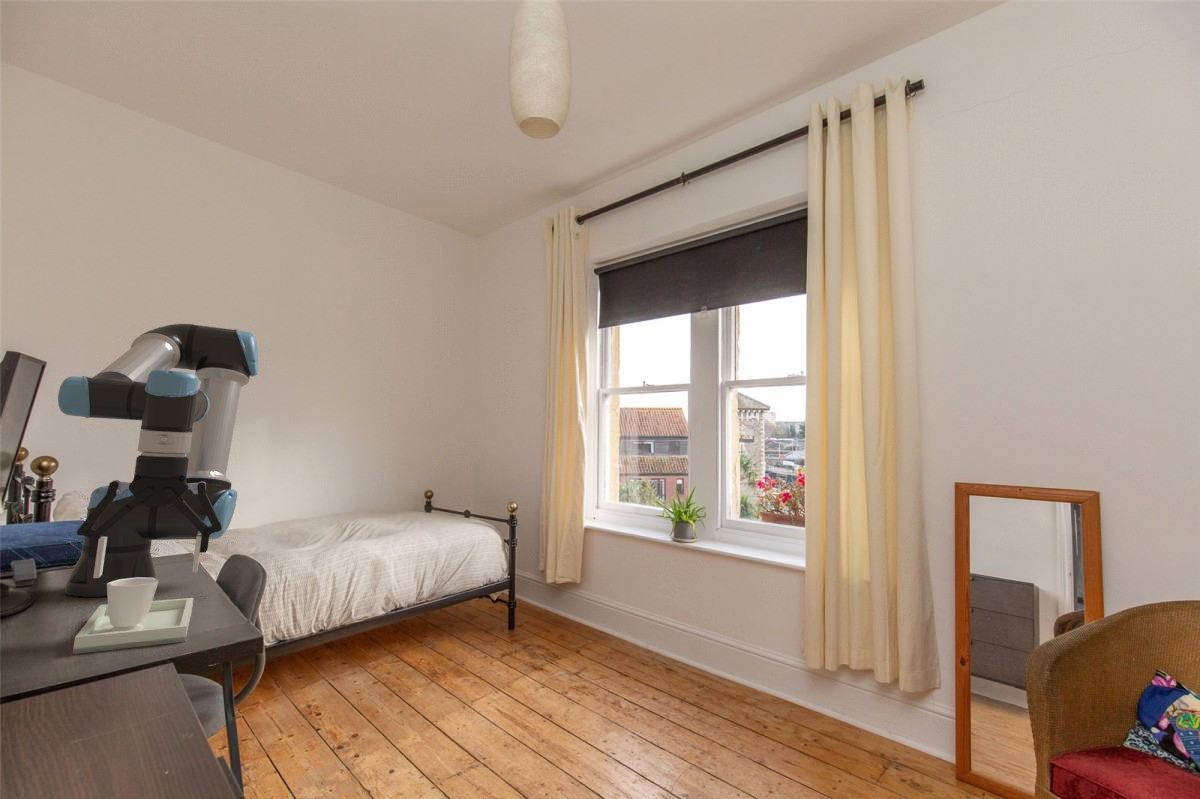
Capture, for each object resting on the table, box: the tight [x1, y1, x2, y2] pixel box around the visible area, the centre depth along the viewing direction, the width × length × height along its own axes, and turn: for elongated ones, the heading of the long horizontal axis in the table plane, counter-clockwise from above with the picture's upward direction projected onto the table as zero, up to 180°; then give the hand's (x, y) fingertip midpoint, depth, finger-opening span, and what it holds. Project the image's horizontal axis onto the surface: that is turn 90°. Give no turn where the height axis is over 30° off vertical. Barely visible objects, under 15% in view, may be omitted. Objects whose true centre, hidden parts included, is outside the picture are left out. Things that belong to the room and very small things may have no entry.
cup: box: [106, 577, 160, 632], centre depth 96 cm, size 7×10×8 cm
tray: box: [72, 597, 194, 655], centre depth 97 cm, size 20×14×2 cm
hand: (148, 573), depth 98 cm, fingers open, 13 cm apart
